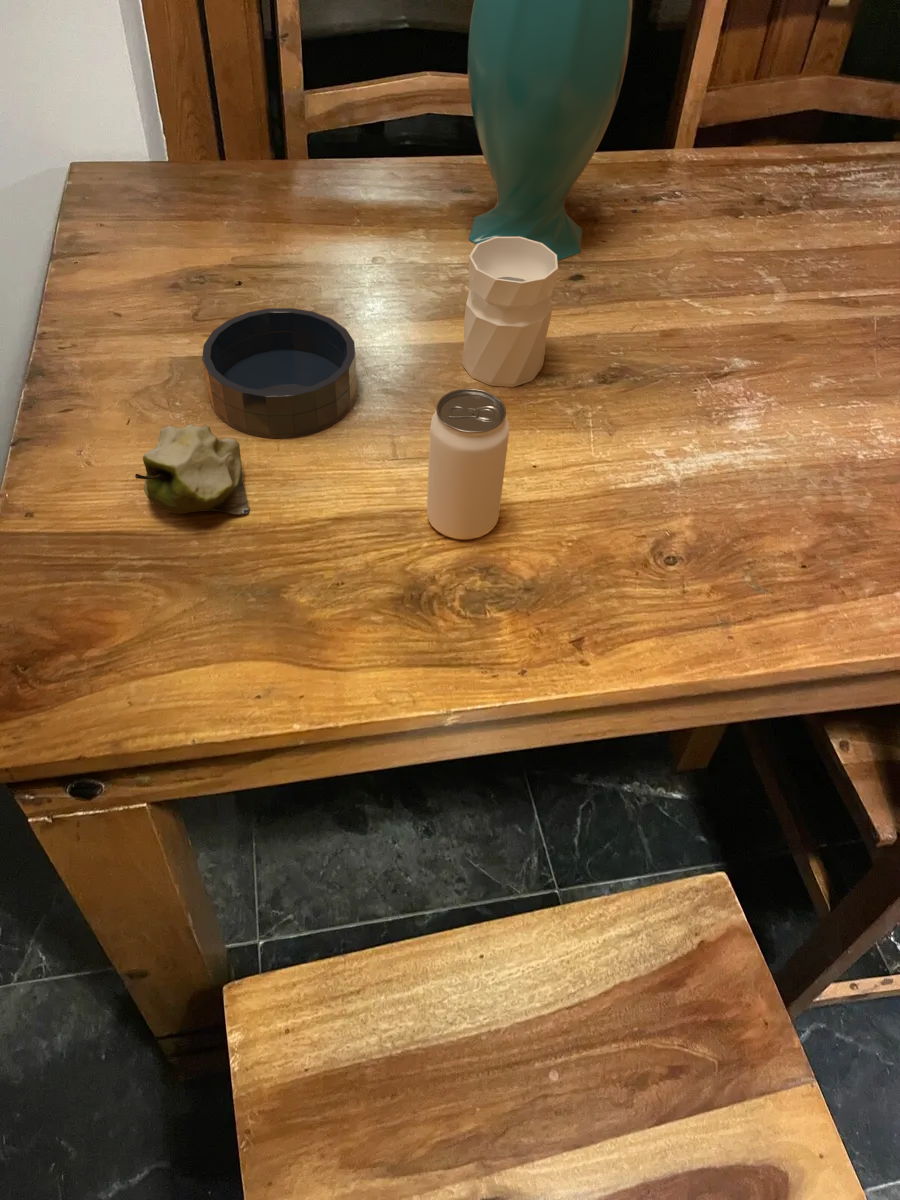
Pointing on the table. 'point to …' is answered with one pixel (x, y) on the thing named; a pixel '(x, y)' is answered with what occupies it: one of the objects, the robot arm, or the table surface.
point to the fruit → (194, 472)
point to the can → (466, 463)
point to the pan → (280, 372)
